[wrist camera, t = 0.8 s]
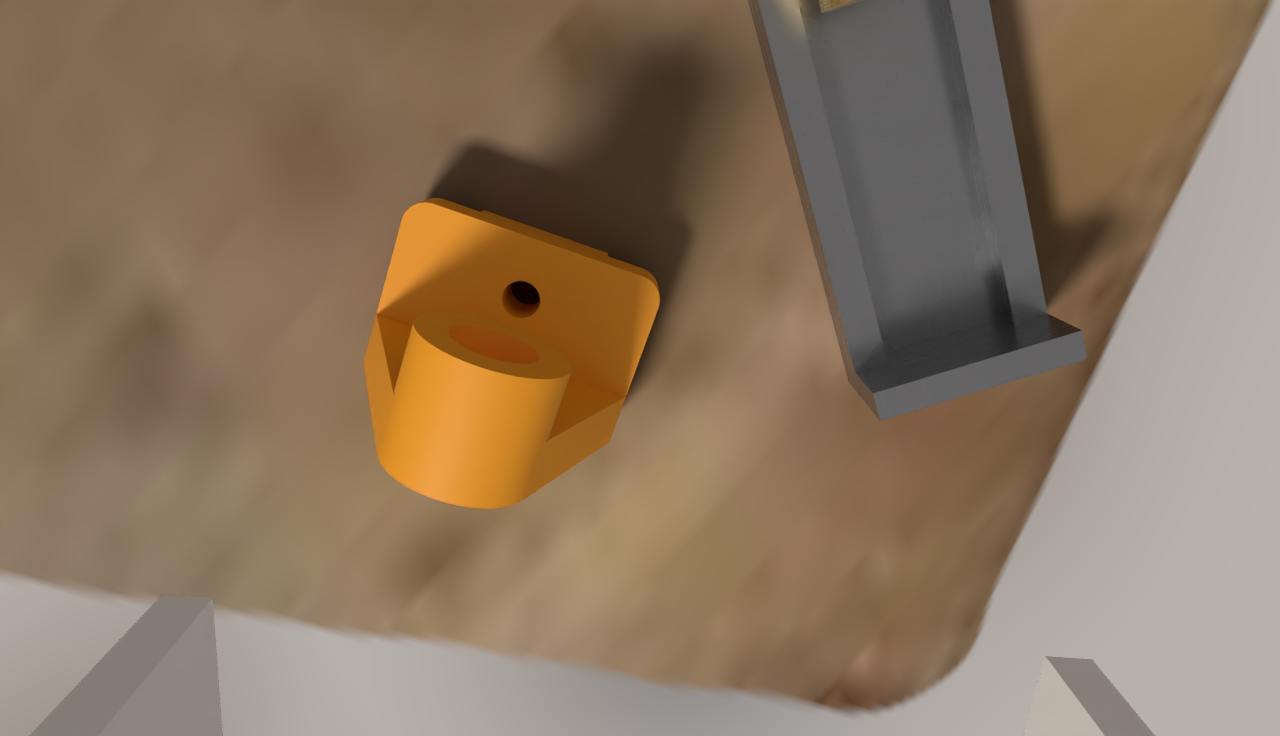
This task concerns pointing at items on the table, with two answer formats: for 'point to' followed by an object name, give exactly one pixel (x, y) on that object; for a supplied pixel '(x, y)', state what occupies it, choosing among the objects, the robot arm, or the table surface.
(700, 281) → the table surface
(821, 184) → the v block
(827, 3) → the axle
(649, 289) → the bracket
